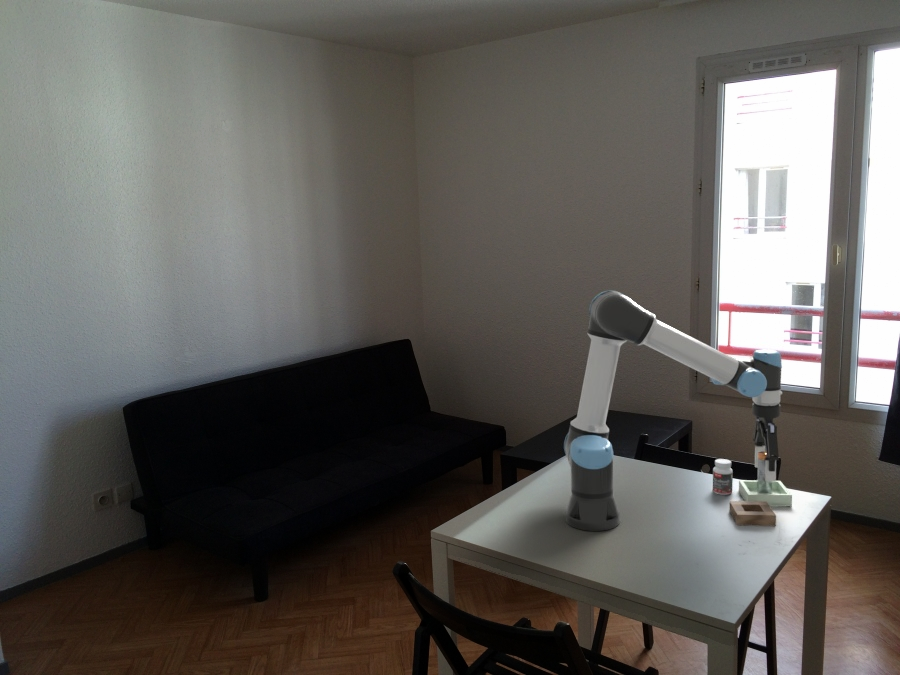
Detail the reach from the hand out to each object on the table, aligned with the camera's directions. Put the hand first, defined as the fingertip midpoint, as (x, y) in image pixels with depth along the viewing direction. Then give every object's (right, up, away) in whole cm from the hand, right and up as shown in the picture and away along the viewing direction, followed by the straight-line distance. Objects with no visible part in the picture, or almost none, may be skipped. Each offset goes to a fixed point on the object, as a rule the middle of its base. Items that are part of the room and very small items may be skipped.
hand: (764, 474), depth 216 cm
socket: (-9, -10, -12) cm, 18 cm away
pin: (0, -7, +1) cm, 7 cm away
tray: (0, -8, +1) cm, 8 cm away
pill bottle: (-10, -7, +8) cm, 14 cm away
